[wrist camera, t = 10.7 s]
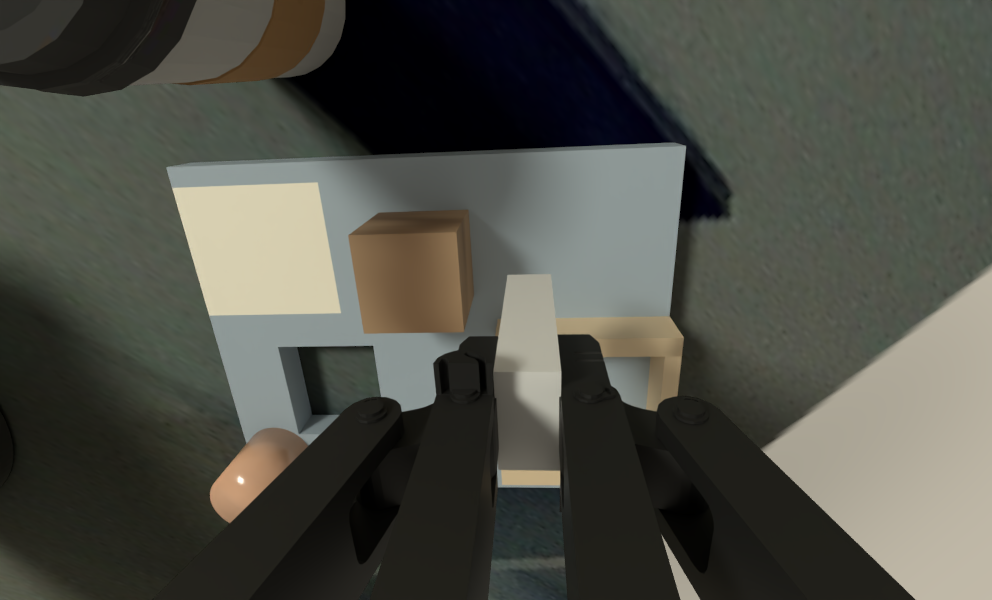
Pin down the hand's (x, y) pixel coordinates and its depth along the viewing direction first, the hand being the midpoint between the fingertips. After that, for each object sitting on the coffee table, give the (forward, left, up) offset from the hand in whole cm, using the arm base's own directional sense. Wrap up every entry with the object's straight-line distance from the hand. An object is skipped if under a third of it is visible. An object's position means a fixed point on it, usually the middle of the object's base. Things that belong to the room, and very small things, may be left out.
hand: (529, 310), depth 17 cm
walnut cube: (-5, 0, -8) cm, 10 cm away
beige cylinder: (-16, -13, -8) cm, 22 cm away
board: (-5, -5, -10) cm, 12 cm away
